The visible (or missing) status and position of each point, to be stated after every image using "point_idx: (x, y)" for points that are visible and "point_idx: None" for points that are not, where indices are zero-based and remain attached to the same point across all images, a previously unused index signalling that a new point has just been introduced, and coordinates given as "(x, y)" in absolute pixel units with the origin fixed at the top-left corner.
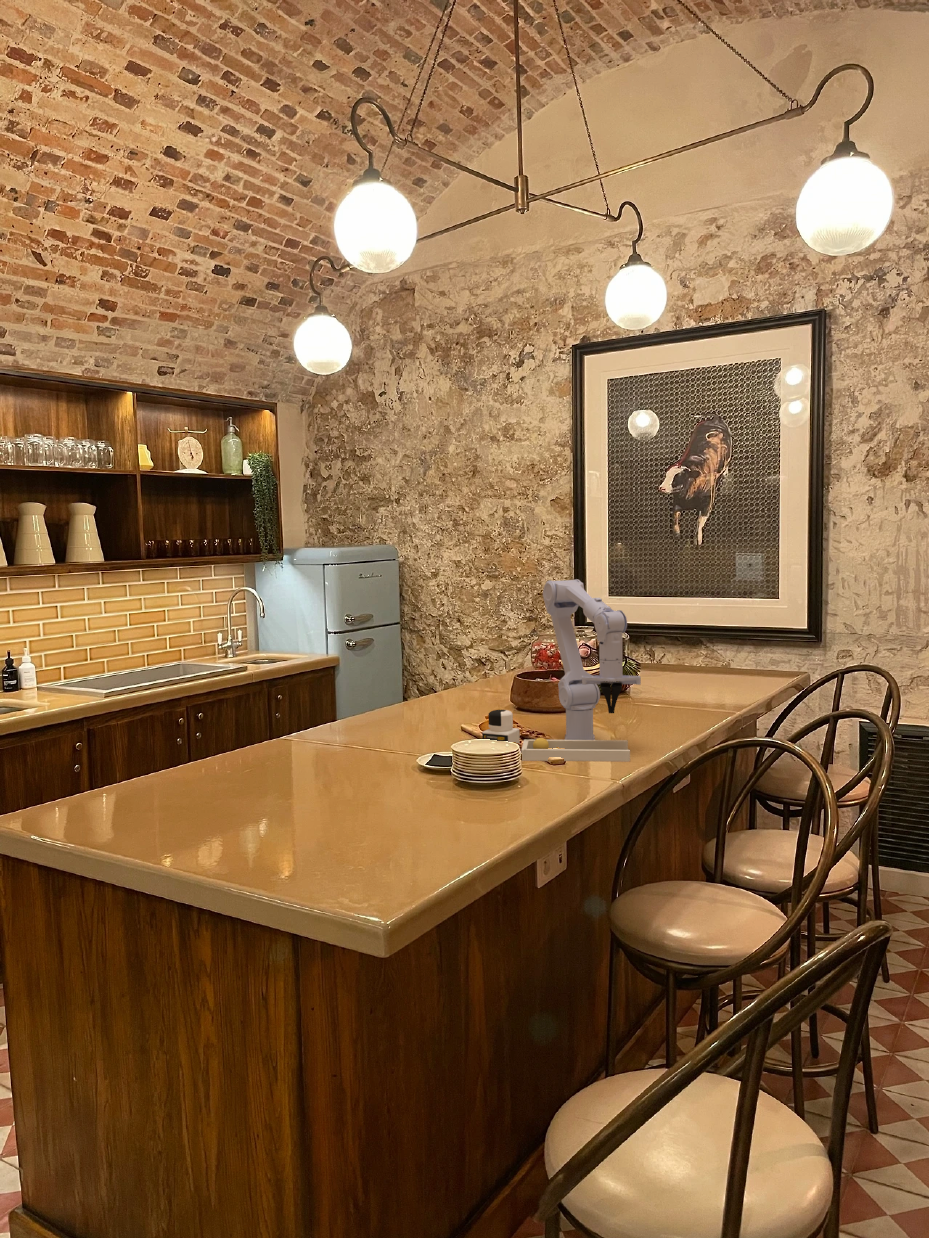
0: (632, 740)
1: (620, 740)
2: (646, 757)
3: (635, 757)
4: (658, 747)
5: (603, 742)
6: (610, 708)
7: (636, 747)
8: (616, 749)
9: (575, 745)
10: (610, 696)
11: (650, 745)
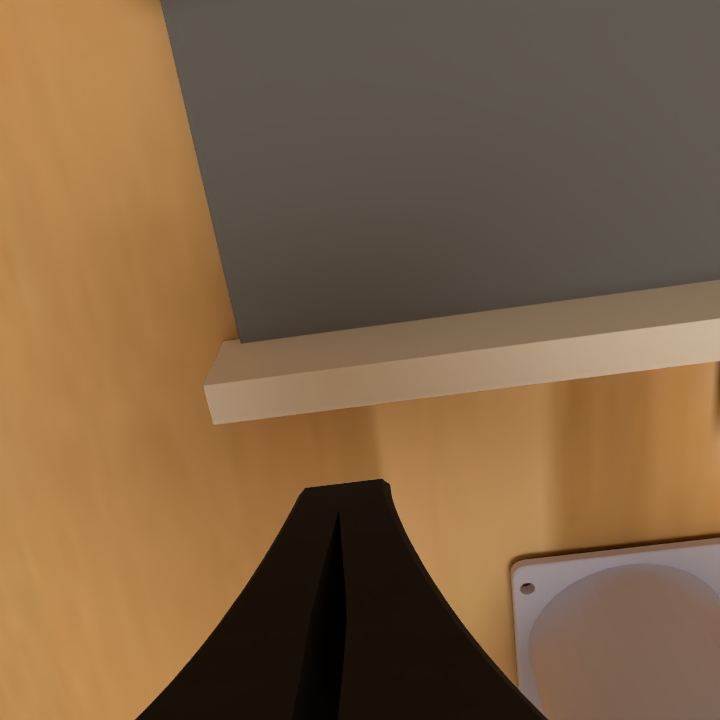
0: None
1: (276, 403)
2: (35, 210)
3: (128, 193)
4: (36, 539)
5: (432, 350)
6: (355, 516)
7: (192, 516)
8: (314, 338)
9: (692, 302)
10: (345, 689)
11: (107, 582)
